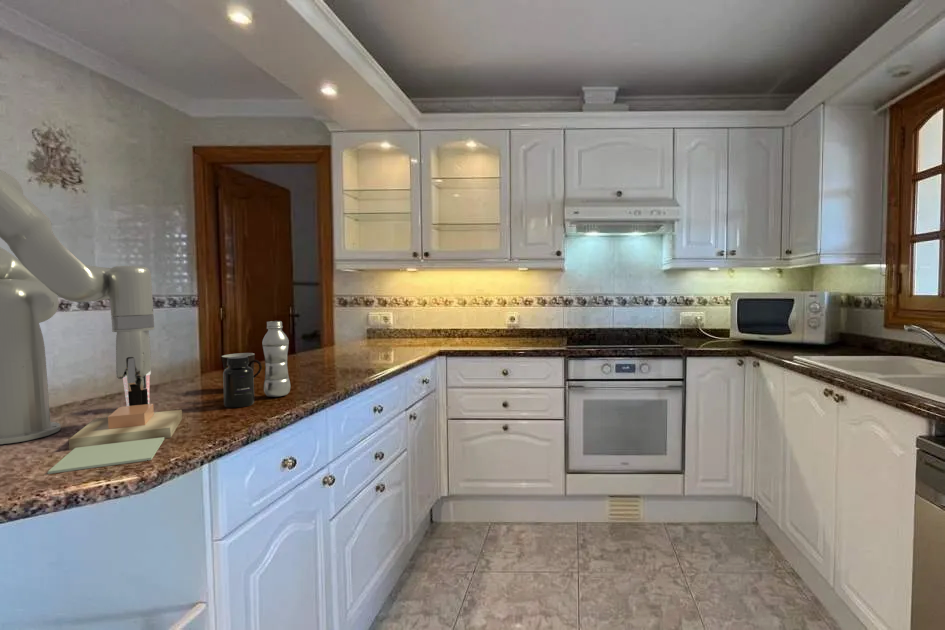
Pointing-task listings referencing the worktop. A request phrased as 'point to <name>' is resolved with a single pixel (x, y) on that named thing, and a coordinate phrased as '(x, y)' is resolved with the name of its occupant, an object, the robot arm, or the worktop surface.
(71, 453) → the sage mat
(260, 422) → the worktop surface
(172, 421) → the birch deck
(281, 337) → the plastic bottle
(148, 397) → the beverage cup
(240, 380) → the supplement bottle
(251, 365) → the coffee mug
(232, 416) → the worktop surface
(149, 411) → the terracotta tile
